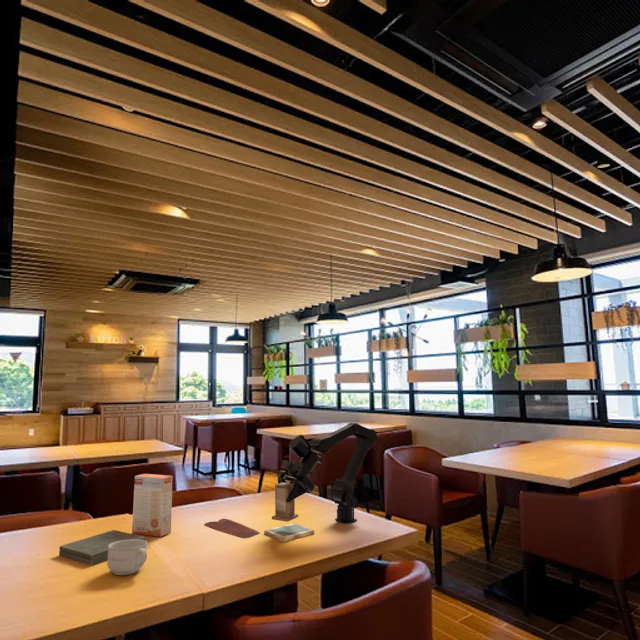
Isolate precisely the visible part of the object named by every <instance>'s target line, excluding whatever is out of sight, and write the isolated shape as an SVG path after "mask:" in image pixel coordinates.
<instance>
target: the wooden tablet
mask: <svg viewBox="0 0 640 640" xmlns="http://www.w3.org/2000/svg"><path fill="white" fill-rule="evenodd" d="M204 525H205V526H207V527H209V528H211V529H213V530H216V531H219V532H221V533H222V532H223V533H225V534H227V535H231V536H234V537H237V538H240V539H241V538H242V539H248V538H252V537H256V536H257V535H259V534H261V532H259V531H257V530H256V529H254V528H250V527H249V526H246V525H244V524H242V523H239V522H236V521H234V520H233V519H228V518H221V519H219V520H218V521H207V522H205V523H204Z"/></svg>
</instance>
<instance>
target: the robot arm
mask: <svg viewBox="0 0 640 640" xmlns="http://www.w3.org/2000/svg"><path fill="white" fill-rule="evenodd" d="M351 436H353V437H354V436H355V449H354V450H353V453H352V454H351V457H350V459H349V462H348V464H347V466H346V468H345V471H344V473H343V474H342V475H343V476H342V477H341V478H339V479H338V478H337V479H335V480H334V483H333V485H332V487H331V498H332V499H333V501H334V504H337V509H336V518H334V520H335V521H336V522H340V523H343V524H348V523H353V522H357V521H358V519H357V518H355V507H356V506H358V499H357V498H356V496H355V495H354V492H355V486H354V482H355V480H356V477H357V475H358V473H359V472H360V468H361V466H362V464H363V461H364V459H365V457H366V455H367V453H368V451H369V450H370V449H371V448H372V447H374V445H375V443H376V442H377V440H378V435H377V432H376V430H375V429H374V428H373V429H372V428H371V429H370V428H367V427H365V426H363V425H361V424H359V423H357V422H349V423H347V424H346V425H344V426H342V427H341V428H339V429H337V430H335V431H333V432H331V433H329V434H327V435H321V436H316V437H314V438H312V439H311V441H308V440H307V439H306V438H305V436H304V435H302V434H299V435H298V436H296V437H294V438H293V439H292V440H290V441H289V444H288V448H289V449H290V450H291V451H292V453H294V454H295V455H296V457H297V458H299V459H300V458H301V459H300V461H298V460H295V459H294V460H293V461H289V460H285V459H283V460H282V463H281V465H280V469H282V470H279V471H278V472H277V474H276V476H277V478H278V480H279V483H282V482H283V483H292V484H294V487H293V489H292V491H291V492H290V494H289V496H288V498H287V500H286V501H287V502H290V501H292V500H294V499H297V498H298V497H301V496H302V495H305V494H308V492H309V493H313V491H314V490H315V487H316V485H315V483H314V482H313V481H312V480H311V479H310V478H309V476H313V472H312V471H313V470H314V468H315V466H317V464H321V465H322V464H323V463H324V459H323V456H322V455H325V454H327V453H329V452H330V451H331V450H332V449H333V448H334V446H335V445H336V444H338V443H340V442H342V441H343V440H346V439H347V438H350V437H351ZM318 454H322V455H318ZM285 470H286V471H285Z"/></svg>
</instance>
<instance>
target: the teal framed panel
mask: <svg viewBox="0 0 640 640" xmlns="http://www.w3.org/2000/svg"><path fill="white" fill-rule="evenodd" d="M263 531H264V532H263V533H264V534H265V535H266V536H269V537H271V538H273V539H275V540H277V541H280V542H282V543H283V542H289V541H290V540H294V539H298V538H302V537H307V536H310V535H311V536H312V535H314V534H315V530H314V529H311V528H309V527H307V526H304V525H302V524H298V523H295V522H294V523H289V524H286V525H280V526H277V527H273V528H269V529H264V530H263Z"/></svg>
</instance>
